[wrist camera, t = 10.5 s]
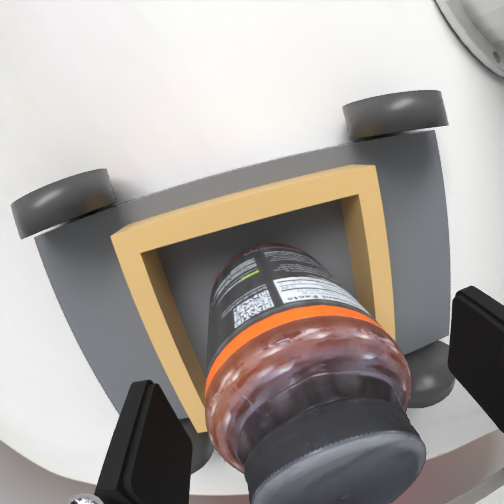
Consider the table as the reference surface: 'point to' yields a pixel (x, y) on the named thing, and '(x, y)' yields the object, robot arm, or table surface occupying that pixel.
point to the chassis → (250, 235)
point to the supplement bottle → (305, 386)
